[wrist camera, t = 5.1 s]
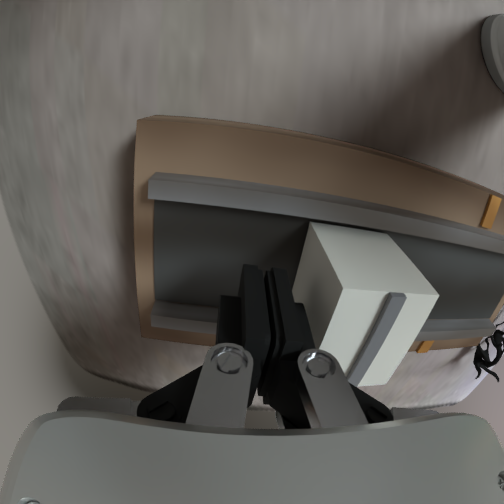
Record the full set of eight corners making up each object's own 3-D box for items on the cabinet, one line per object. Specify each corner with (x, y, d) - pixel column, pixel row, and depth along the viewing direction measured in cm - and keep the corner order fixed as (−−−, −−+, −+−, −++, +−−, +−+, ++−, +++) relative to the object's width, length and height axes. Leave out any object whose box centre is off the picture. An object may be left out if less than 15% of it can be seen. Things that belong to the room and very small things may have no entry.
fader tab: (309, 221, 13) (345, 293, 9) (387, 233, 14) (442, 299, 9) (286, 310, 16) (302, 392, 11) (355, 314, 16) (387, 388, 11)
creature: (488, 282, 22) (447, 355, 23) (527, 306, 17) (479, 386, 18) (514, 302, 24) (479, 363, 25) (546, 323, 18) (506, 389, 20)
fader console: (155, 115, 14) (127, 122, 10) (518, 202, 16) (553, 225, 13) (151, 305, 19) (136, 351, 16) (462, 323, 22) (483, 354, 18)
